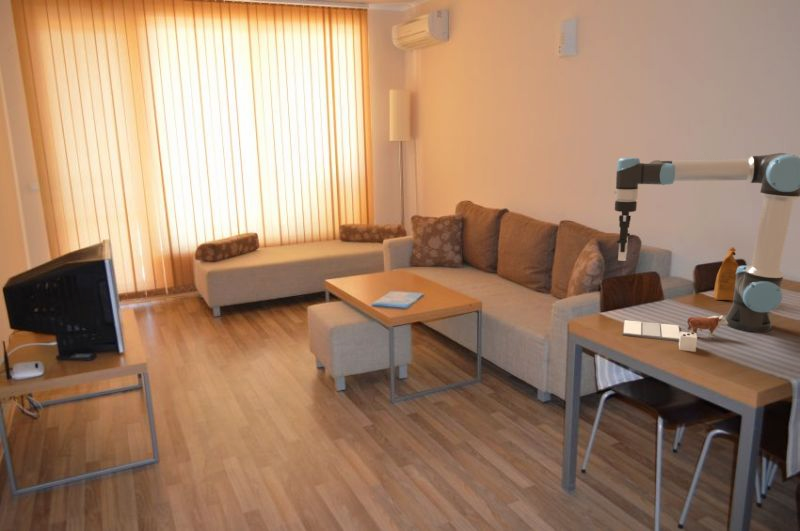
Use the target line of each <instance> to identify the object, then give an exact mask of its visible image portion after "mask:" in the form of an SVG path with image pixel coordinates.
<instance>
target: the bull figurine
mask: <svg viewBox="0 0 800 531" xmlns="http://www.w3.org/2000/svg"><path fill="white" fill-rule="evenodd" d="M727 324H728V322H727V320H726V317H724V315H720V316H718V315H713V316H708V317H700V316H697V317H695V316H690V317H689V318H688V319H687V325H688V327H687V332H689V333H692V332H693V333H696V335H697V338H698V337H700V338H701V336H700V335H699V334H698V329H699V331H700V332H703V331H704V330H708V331H709V335H708V337H710V339H712V338H713V336H715V334H714V331H715V330H717V329H718V328H720V327H721V326H724V325H725V326H728V325H727Z"/></svg>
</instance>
